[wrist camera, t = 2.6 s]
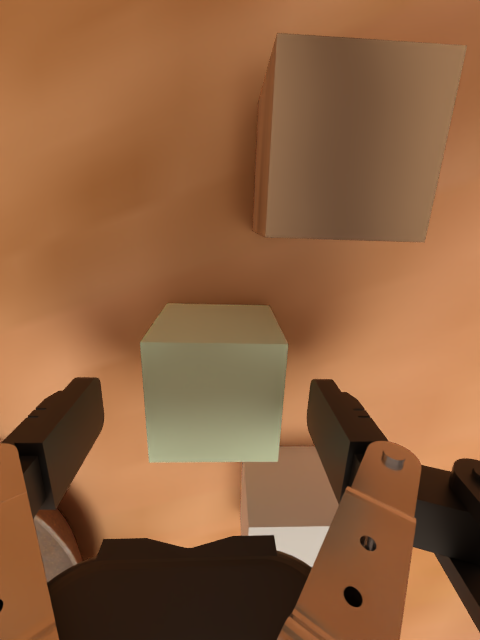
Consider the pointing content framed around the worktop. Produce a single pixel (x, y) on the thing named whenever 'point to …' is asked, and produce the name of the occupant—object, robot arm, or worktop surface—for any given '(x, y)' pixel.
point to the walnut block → (352, 137)
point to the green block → (214, 383)
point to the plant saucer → (56, 542)
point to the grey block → (288, 501)
